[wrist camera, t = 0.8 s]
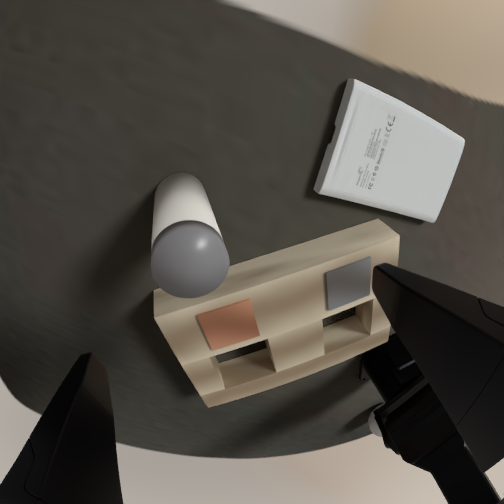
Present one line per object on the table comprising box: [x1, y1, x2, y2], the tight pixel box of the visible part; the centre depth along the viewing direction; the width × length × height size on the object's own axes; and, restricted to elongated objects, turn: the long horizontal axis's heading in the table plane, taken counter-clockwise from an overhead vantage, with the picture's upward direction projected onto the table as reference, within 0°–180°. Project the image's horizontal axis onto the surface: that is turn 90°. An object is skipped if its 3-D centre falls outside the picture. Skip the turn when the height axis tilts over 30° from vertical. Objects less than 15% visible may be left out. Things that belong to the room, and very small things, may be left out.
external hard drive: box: [314, 79, 465, 223], centre depth 22 cm, size 2×8×12 cm
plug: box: [151, 173, 229, 298], centre depth 16 cm, size 3×3×8 cm
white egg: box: [368, 403, 385, 437], centre depth 41 cm, size 8×6×6 cm
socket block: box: [154, 219, 400, 408], centre depth 25 cm, size 12×18×3 cm, turn 102°
